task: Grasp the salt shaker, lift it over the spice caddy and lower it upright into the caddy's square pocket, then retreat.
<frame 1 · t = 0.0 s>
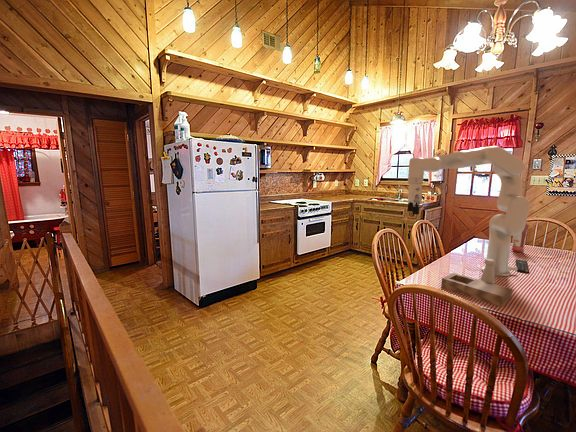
hand: (412, 212, 158), 31 cm above the table, fingers open, 9 cm apart
caddy: (474, 292, 131), on the table
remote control: (521, 268, 166), on the table
salt shaker: (486, 285, 139), on the table
liquor: (517, 252, 195), on the table
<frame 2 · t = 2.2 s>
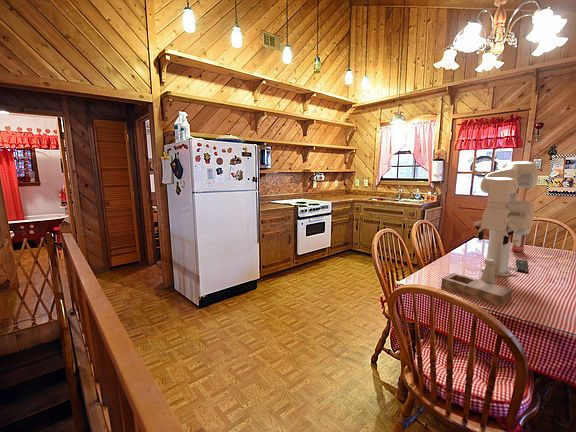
hand: (492, 242, 135), 21 cm above the table, fingers open, 9 cm apart
nothing on the table moved.
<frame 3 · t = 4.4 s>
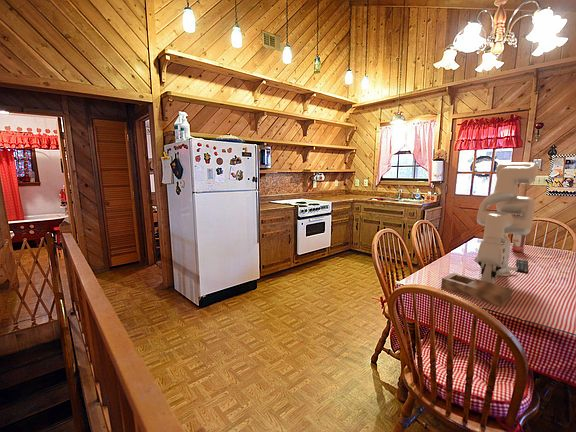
hand: (488, 277, 138), 4 cm above the table, fingers closed on salt shaker, 3 cm apart
salt shaker: (486, 285, 139), on the table, touching gripper
everything else where it was.
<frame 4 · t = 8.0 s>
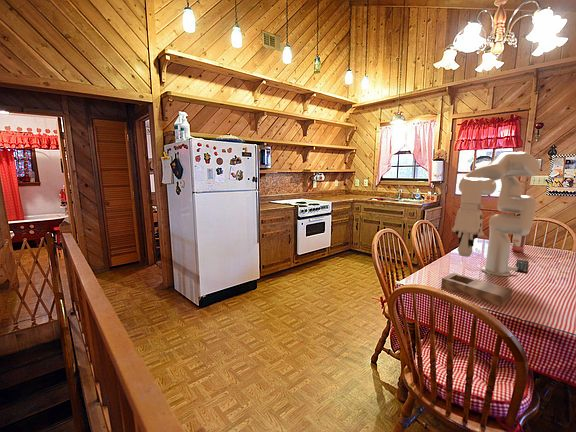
hand: (465, 246, 132), 20 cm above the table, fingers closed on salt shaker, 3 cm apart
salt shaker: (464, 255, 133), point 16 cm above the table, touching gripper
everything else where it was.
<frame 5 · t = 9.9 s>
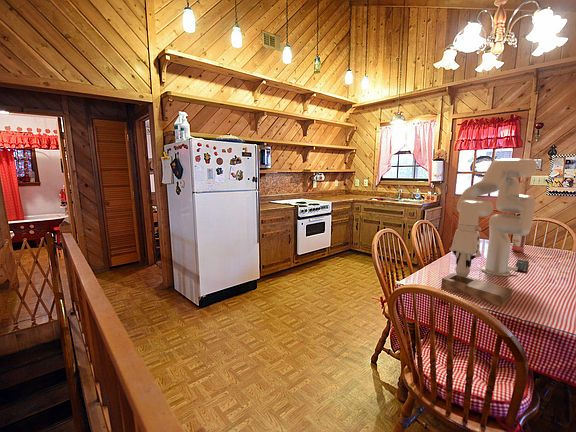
hand: (463, 266, 134), 11 cm above the table, fingers closed on salt shaker, 3 cm apart
salt shaker: (461, 275, 134), point 6 cm above the table, touching gripper
everything else where it was.
when the fingers open (6 cm above the table, at t = 11.5 s): salt shaker drops 1 cm, resting in caddy.
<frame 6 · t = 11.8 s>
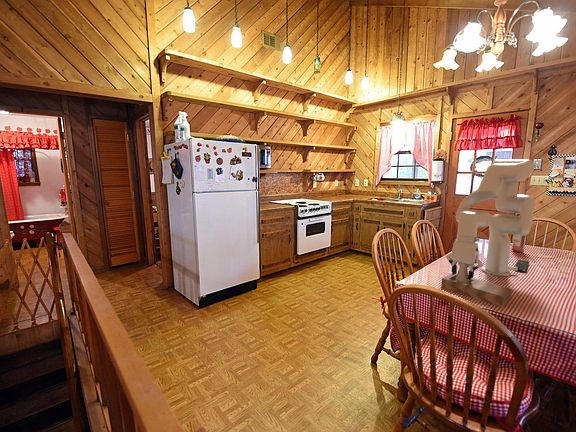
hand: (461, 276, 134), 6 cm above the table, fingers open, 6 cm apart
salt shaker: (460, 288, 136), resting in caddy
everything else where it was.
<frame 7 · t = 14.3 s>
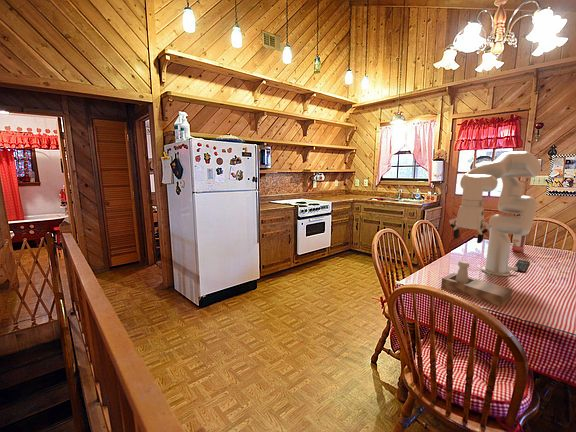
hand: (467, 240, 133), 23 cm above the table, fingers open, 9 cm apart
nothing on the table moved.
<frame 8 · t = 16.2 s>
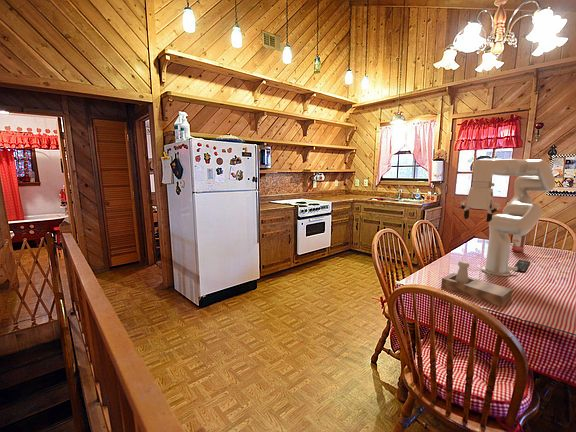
hand: (477, 220, 142), 30 cm above the table, fingers open, 9 cm apart
nothing on the table moved.
at the end: salt shaker 0.3 cm from the target spot on the caddy, point 0.0 cm above the caddy's base; salt shaker tilted 0°; the gripper is holding nothing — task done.
